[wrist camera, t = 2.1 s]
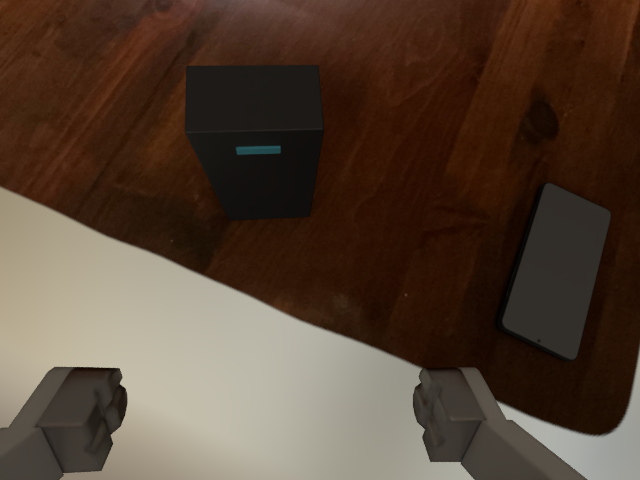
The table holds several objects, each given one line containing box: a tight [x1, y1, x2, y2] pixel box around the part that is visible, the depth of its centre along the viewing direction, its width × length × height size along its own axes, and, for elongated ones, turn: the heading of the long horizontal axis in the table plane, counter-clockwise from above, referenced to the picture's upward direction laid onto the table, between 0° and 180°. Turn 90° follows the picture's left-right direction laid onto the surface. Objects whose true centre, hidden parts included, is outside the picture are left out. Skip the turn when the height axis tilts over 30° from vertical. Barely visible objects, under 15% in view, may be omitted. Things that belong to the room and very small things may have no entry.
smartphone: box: [497, 182, 611, 361], centre depth 32 cm, size 7×1×15 cm
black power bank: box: [185, 65, 324, 220], centre depth 26 cm, size 4×7×14 cm, turn 94°
